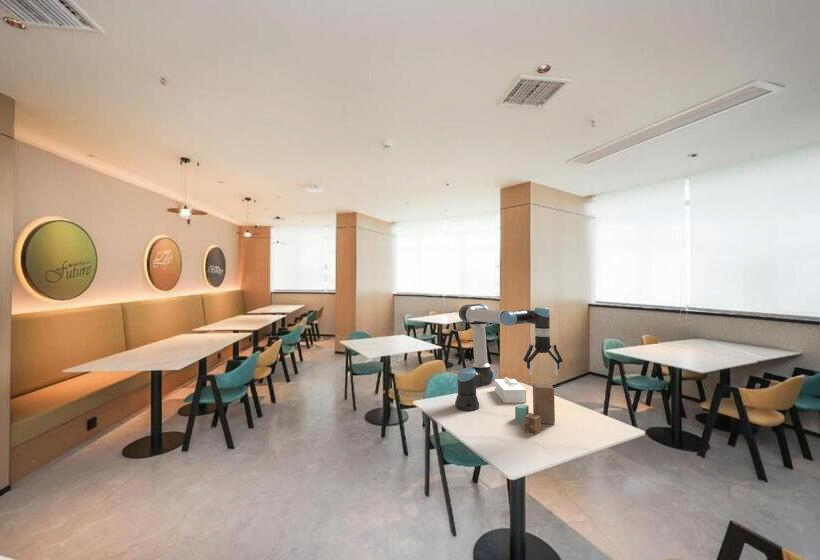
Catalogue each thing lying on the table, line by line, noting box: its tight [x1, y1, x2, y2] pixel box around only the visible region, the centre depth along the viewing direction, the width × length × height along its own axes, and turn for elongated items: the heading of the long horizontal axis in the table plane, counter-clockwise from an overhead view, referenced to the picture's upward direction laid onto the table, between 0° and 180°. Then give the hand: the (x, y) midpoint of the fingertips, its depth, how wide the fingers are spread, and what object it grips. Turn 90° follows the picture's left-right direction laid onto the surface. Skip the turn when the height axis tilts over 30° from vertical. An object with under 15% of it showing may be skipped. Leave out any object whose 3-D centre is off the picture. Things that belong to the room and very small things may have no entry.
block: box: [532, 382, 556, 425], centre depth 187 cm, size 10×10×20 cm
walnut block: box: [524, 412, 542, 436], centre depth 174 cm, size 6×6×8 cm
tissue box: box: [494, 376, 527, 404], centre depth 229 cm, size 14×25×11 cm, turn 179°
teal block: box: [514, 403, 530, 424], centre depth 188 cm, size 6×6×8 cm
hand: (543, 374), depth 180 cm, fingers open, 13 cm apart
